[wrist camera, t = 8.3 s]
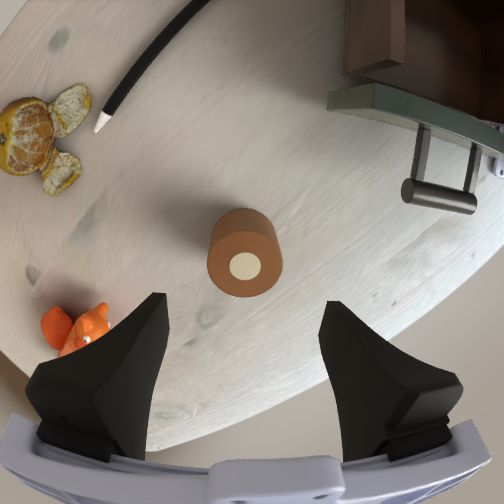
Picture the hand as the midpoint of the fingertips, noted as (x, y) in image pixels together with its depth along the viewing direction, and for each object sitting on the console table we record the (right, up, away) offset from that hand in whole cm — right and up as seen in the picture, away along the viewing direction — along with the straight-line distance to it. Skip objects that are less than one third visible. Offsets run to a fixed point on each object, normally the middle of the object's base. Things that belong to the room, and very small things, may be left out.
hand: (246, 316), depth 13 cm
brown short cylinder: (0, +4, +8) cm, 9 cm away
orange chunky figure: (-16, -4, +11) cm, 20 cm away
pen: (-4, +18, +1) cm, 18 cm away
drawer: (+12, +15, +2) cm, 19 cm away
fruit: (-15, +11, +4) cm, 19 cm away
